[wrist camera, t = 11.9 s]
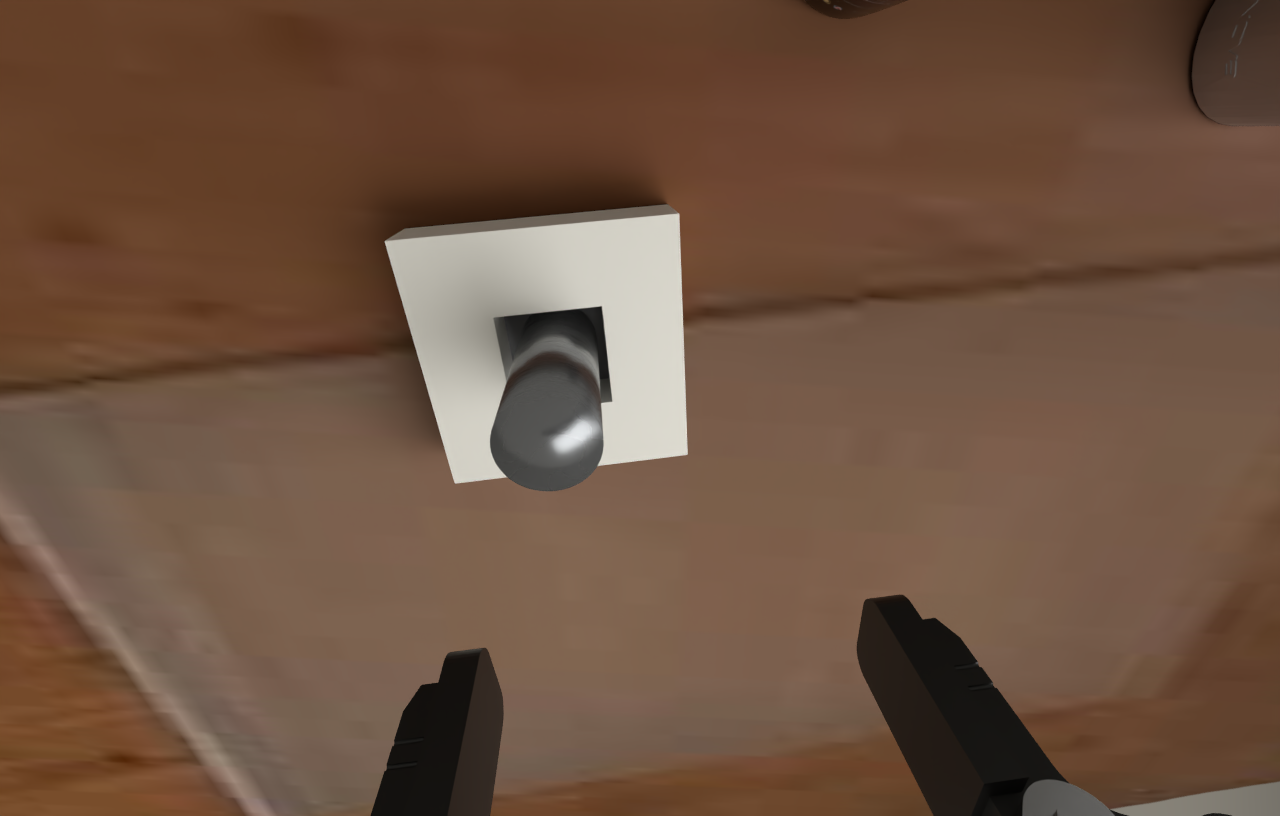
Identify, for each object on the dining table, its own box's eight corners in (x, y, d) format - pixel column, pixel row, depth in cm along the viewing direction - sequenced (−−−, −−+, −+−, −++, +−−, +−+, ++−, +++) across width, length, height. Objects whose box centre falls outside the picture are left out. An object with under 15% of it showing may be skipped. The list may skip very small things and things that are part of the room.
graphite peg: (593, 300, 31) (597, 389, 20) (600, 370, 33) (608, 485, 22) (515, 307, 30) (479, 400, 20) (528, 377, 32) (500, 496, 22)
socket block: (667, 204, 29) (679, 213, 26) (677, 426, 36) (687, 454, 33) (404, 228, 28) (384, 241, 25) (465, 451, 35) (454, 483, 32)
